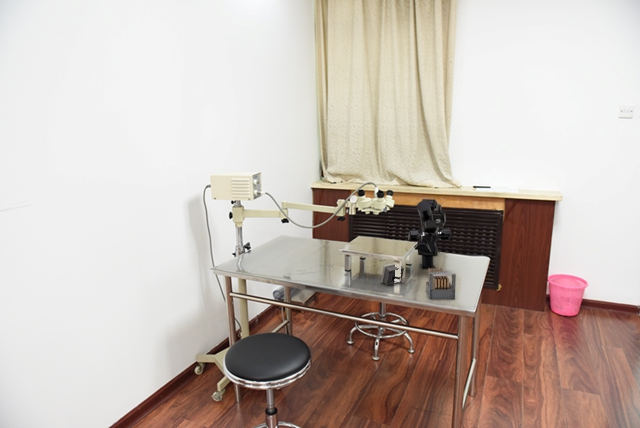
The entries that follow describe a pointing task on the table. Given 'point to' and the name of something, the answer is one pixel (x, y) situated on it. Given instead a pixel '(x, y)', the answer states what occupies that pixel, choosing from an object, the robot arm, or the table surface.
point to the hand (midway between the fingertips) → (432, 251)
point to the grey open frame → (441, 292)
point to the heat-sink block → (439, 280)
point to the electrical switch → (390, 273)
